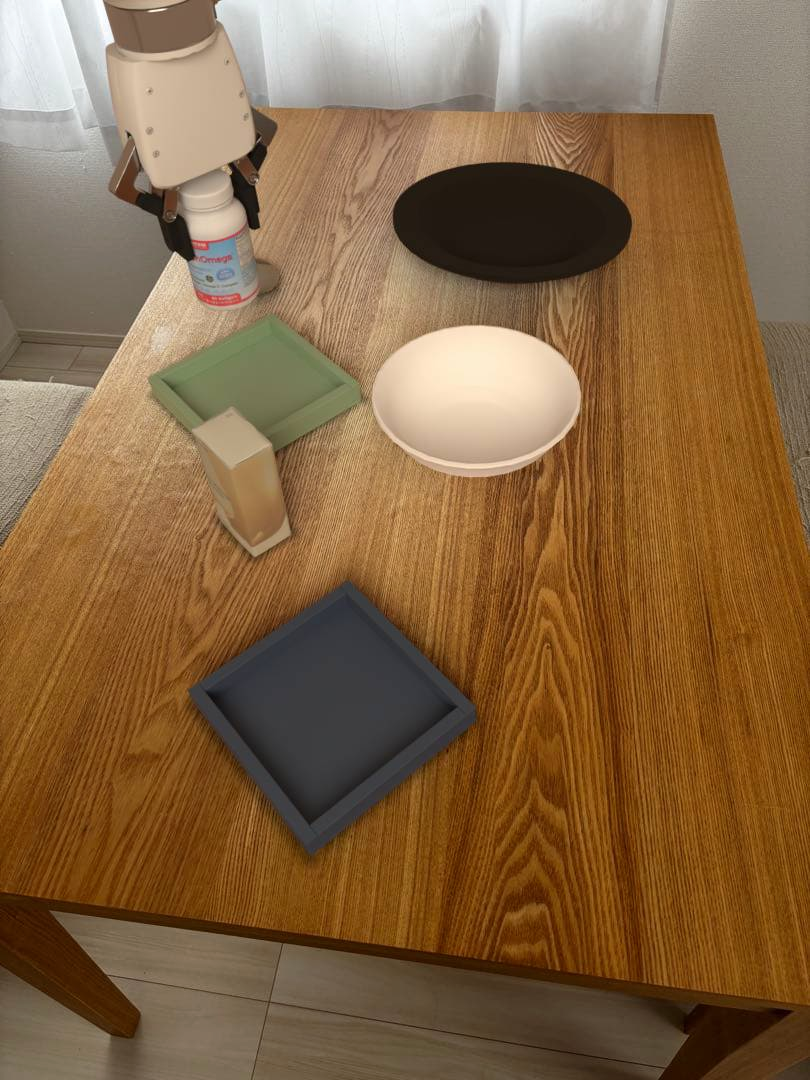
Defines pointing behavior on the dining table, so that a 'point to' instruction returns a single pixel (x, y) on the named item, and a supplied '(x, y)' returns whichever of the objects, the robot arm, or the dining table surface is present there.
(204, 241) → the pill bottle
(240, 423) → the cosmetic box
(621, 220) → the plate
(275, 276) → the seashell
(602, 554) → the dining table surface
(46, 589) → the dining table surface
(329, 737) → the slate tray
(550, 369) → the bowl
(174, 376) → the sage tray
